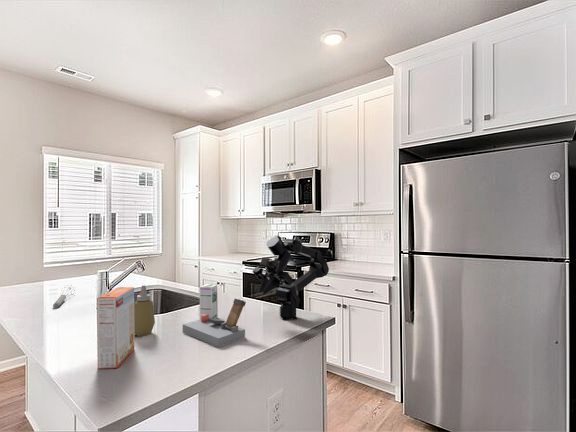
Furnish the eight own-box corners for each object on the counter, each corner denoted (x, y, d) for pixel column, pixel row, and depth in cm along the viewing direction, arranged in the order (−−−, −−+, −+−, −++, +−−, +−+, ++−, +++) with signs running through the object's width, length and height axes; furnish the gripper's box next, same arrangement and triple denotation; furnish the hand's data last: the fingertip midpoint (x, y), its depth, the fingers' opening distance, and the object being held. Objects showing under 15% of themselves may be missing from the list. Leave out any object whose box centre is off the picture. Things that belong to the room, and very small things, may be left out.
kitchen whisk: (47, 310, 155) (47, 297, 155) (63, 295, 186) (63, 283, 186) (62, 309, 158) (62, 296, 158) (76, 294, 189) (76, 283, 189)
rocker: (218, 322, 129) (219, 319, 130) (224, 324, 127) (224, 321, 127) (207, 321, 126) (208, 318, 126) (213, 323, 123) (214, 320, 124)
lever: (226, 328, 123) (238, 300, 127) (234, 331, 120) (246, 302, 124) (222, 327, 122) (234, 298, 126) (230, 330, 119) (242, 300, 123)
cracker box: (116, 350, 109) (116, 286, 110) (135, 349, 110) (135, 286, 110) (95, 369, 96) (95, 296, 96) (117, 369, 96) (117, 296, 96)
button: (205, 319, 133) (205, 313, 133) (210, 320, 131) (210, 314, 131) (199, 321, 131) (199, 314, 131) (203, 322, 129) (203, 316, 129)
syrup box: (212, 321, 140) (212, 286, 140) (199, 320, 141) (199, 286, 141) (217, 317, 146) (217, 284, 146) (205, 316, 147) (205, 283, 147)
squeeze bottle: (131, 338, 120) (132, 288, 120) (130, 331, 127) (131, 284, 127) (156, 335, 123) (156, 286, 123) (153, 328, 131) (154, 282, 131)
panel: (208, 324, 136) (208, 312, 136) (245, 337, 122) (245, 324, 122) (182, 332, 127) (182, 319, 127) (218, 347, 112) (218, 333, 112)
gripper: (255, 248, 144) (235, 277, 135) (288, 251, 132) (268, 283, 123) (268, 265, 150) (250, 293, 141) (300, 269, 137) (282, 301, 129)
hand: (261, 292), depth 134 cm, fingers closed
